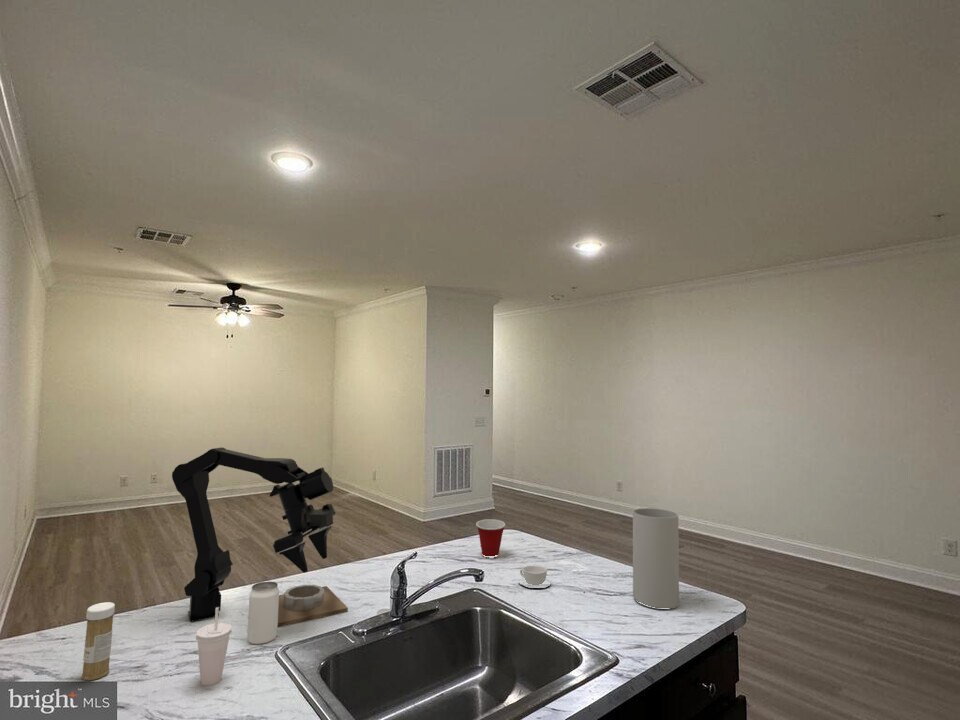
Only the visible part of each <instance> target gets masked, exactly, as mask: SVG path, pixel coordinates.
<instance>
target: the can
mask: <svg viewBox="0 0 960 720" xmlns="http://www.w3.org/2000/svg"><path fill="white" fill-rule="evenodd" d="M279 595H280V590H279V587H278V582H275V581H270V580H269V581H261V582H257V583H255V584H253V585H252V586H251V590H250V592H249V597H248V598H249V599H248V611H247V612H248V614H247V628H246V629H247V635H246V640H247V642H248V643H249V644H250V645H251V644H252V645H255V644H256V645H265V644H268V643H271V642H272V641H274V640H275V639H276V637H277V635H278V628H277V626H278V607H279ZM256 645H255V646H256Z"/></svg>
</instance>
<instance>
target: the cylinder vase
mask: <svg viewBox="0 0 960 720" xmlns="http://www.w3.org/2000/svg"><path fill="white" fill-rule="evenodd" d="M679 538H680V537H679V513H677V512H675V511H671V510H667V509H660V508H653V507H652V508H649V507H647V508H645V507H644V508H635V509H633V510H632V598H633V597H634V598H633V600H634V599H636V600H637V601H638V602H641V603H643V604H645V605H648V606H651V607H655V608H673V609H675V608H674V607H676V608H677V607H678V606H679V605H680V570H679V569H680V557H679V555H680V554H679V553H680V551H679V549H680V548H679V545H680V544H679V543H680V542H679Z"/></svg>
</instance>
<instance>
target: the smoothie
mask: <svg viewBox="0 0 960 720" xmlns="http://www.w3.org/2000/svg"><path fill="white" fill-rule="evenodd" d="M218 612H220V611H219V608H218V607H217V608H216V611H215V617H214V623H211V624H207V625H204V626H202V627H200V628H199V629H198V630H197V631H196V635H195V640H196V641H197V648H198V651H197V652H198V665H199V666H198V667H199V676H200V677H199V679H200V684H201V685H203V686H213V685H215V684H217V683H219V682H220V681H222V677H223V672H224V666H225V662H226V657H227V651H228V645H229V640H230V635H231V634H232V632H233V631H232V627H233V626H232V625H231V624H229V623H226V622H219V616H218Z"/></svg>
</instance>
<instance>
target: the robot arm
mask: <svg viewBox="0 0 960 720" xmlns="http://www.w3.org/2000/svg"><path fill="white" fill-rule="evenodd" d="M219 466H223V467H226V468H230V469H235V470H241V471H245V472H249V473H253V474H255V475H258V476H260V477H261V478H262V479H263V480H266V481H267V482H270V483H273V484H275V485H274V486H273V487H272V490H271V492H270V493H269V497H270V498H271V497H275V496H277V495H278V497H279V500H280V504H281V505H282V508H283V511H284V515H282V516H281V517H282V520H283V521H284V520H287V524H288V527H289V530H288V531H287V534H286V535H283V536H281V537H279V538H278V539H276V540H274V542H273V544H272V548H273V549H274V553H275V554H278V553H279V556H282V555H283V557H285V558H286V559H288V560H289V561H290V562H291V563H293V565H294V566H296V567H297V569H299V570H300V571H301V572H302V573H307V572H308V563H307V560H306V556H305V553H304V547H305V545H306V541H304V537H306V536H307V537H308V539H309V540H310V542H311V543H312V545H313V546H314V548H315V549H316V551H317V553H318V554H319V556H320V557H321V558H322V560H324V559H327V558H328V548H327V547H328V546H327V545H328V543H327V538H328V534H329V532H330V530H331V529H332V525H334V516H335V515H336V511H335V509H334V506H333V505H332V503H326V504H324V505H323V506H322V508H319V509H315V508H314V506H313V504H312V503H311V504H308V501H307V499H308V500H310V501H313V500H315V499H317V498H320V497H323V496H325V495H328V494H331V493H332V492H333V490H334V483H333V479H332V477H331V476H330V475H329V473H328V472H326V470H325V468H324V467H320V468H317V469H314V470H313V471H312V472H309V473H308V472H307V471H305V469H302V468H301V467H299V466H298V464H297V461H296V460H294V459H292V458H286V457H285V458H283V457H277V458H275V457H270V458H268V457H266V458H265V457H262V456H257V455H253V454H249V453H243V452H239V451H235V450H230V449H227V448H225V447H215V448H211V449H208V450H207V451H206V452H203V454H201V455H199V456H197V457H196V458H193V459H192V460H189V461H188V462H186V463H185V462H184V463H180V464H179V465H177V466H176V467H175V468H174V470H173V471H172V474H171V478H172V483H173V484H174V486H175V489H176V491H177V492H178V493H179V494H180V495H181V496H182V497H183V498H184V500H185V503H186V508H187V512H188V513H187V514H188V517H189V521H190V526H191V530H192V534H193V539H194V544H195V548H196V559H195V562H194V566H193V567H194V568H193V570H194V578H193V579H191V580H190V581H189V582H188V583H187V584H186V585H185V586H184V587H183V588H184V593H185V594H184V595H185V596H187V597H189V609H188V611H187V615H188V619H189V622H196V621H197V622H198V621H203V620H207V619H212V618H215V611H216V608H217V607H218V608H219V612H221V605H222V594H221V591H220V588H219V587H221V586H222V585H224V582H225V581H226V579H228V577H230V573H232V566H233V564H234V563H233V562H232V560H231V553H230V550H229V549H227V550H225V551H224V550H223V549H222V548H221V547H220V546H219V544H218V543H219V542H218V539H217V534H216V530H215V525H214V522H213V517H212V511H211V508H210V504H209V499H208V495H207V491H208V487H209V483H210V474H211V472H213V471H214V470H216V469H217V468H218V467H219ZM296 482H298V483H297V484H294V483H296ZM283 483H285V484H283ZM280 484H283V485H280ZM303 541H304V542H303ZM219 612H218V617H219V616H220V613H219Z"/></svg>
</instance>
